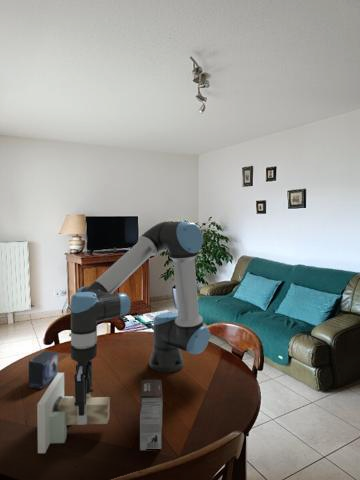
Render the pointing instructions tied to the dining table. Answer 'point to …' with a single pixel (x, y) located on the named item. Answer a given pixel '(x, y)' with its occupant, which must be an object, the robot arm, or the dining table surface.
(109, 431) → the dining table surface
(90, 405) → the rail
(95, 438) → the dining table surface
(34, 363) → the small box
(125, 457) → the dining table surface
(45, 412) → the base plate with tabs
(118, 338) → the dining table surface
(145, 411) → the coffee box
